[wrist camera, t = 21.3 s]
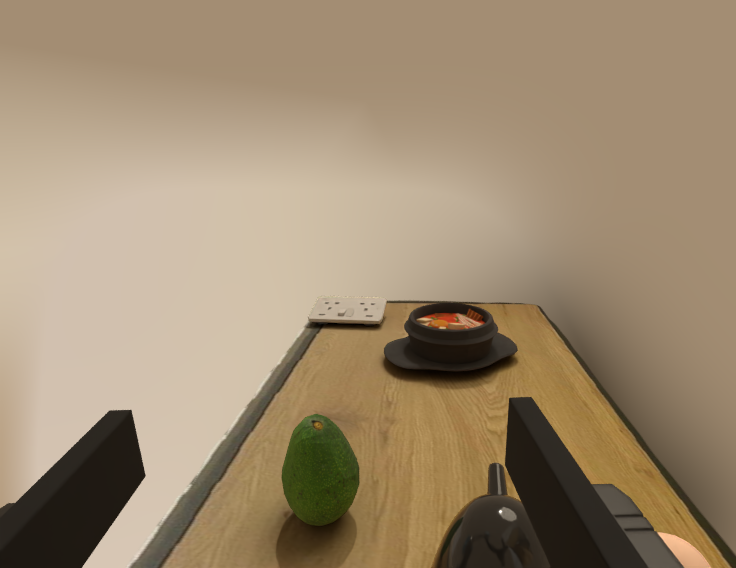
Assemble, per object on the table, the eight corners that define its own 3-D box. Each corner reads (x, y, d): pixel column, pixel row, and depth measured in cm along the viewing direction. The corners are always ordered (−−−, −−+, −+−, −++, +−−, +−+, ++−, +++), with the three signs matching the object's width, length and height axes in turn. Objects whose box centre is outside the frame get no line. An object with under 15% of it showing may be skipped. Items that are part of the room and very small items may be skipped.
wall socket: (387, 304, 109) (385, 290, 107) (390, 336, 95) (388, 320, 93) (314, 310, 109) (312, 296, 108) (306, 343, 95) (304, 327, 94)
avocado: (279, 546, 43) (267, 442, 39) (293, 488, 50) (284, 396, 47) (360, 545, 42) (354, 440, 39) (362, 487, 50) (357, 394, 47)
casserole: (487, 331, 93) (488, 293, 91) (538, 369, 75) (541, 325, 73) (374, 345, 88) (372, 306, 86) (400, 391, 70) (399, 343, 68)
